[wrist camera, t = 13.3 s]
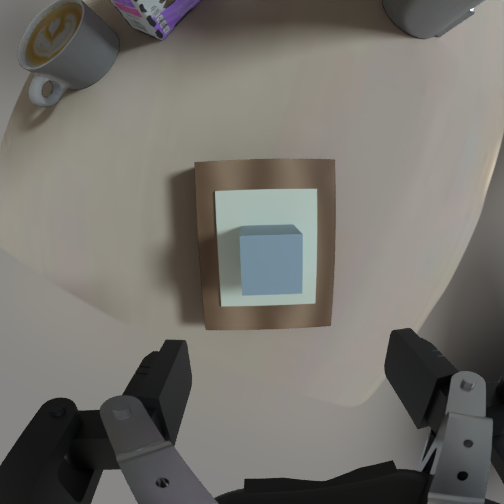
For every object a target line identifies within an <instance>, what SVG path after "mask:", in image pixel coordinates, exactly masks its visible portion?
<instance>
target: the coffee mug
mask: <svg viewBox="0 0 504 504" xmlns="http://www.w3.org/2000/svg"><path fill="white" fill-rule="evenodd" d="M118 51H119V39H118V36H117V34H116V33H115V32H114V31H113V30H112V29H111V28H110V27H109V26H108V25H107V24H106V23H105V22H104V21H103V20H102V19H101V18H100V17H99V16H98V15H97V14H96V13H95V12H94V11H92V10H91V9H90V8H89V7H88V6H87V5H86V4H85V3H84V2H83V1H82V0H57V1H55V2H53V3H51V4H50V5H48V6H47V7H46V8H44V9H43V10H42V11H41V12H40V13H39V14H38V15H37V16H36V17H35V18H34V19H33V20H32V22H31V23H30V24H29V26H28V27H27V29H26V30H25V32H24V34H23V36H22V38H21V41H20V44H19V48H18V61H19V64H20V66H21V67H22V68H24V69H26V70H28V71H31V72H34V76H33V78H32V81H31V83H30V86H29V90H28V96H29V99H30V101H31V102H32V103H33V104H35V105H37V106H40V107H51V106H53V105H55V104H56V103H57V102H58V101H59V100H60V98H61V97H62V95H63V94H64V92H65V91H66V90H67V89H69V88H70V89H83V88H86V87H89V86H91V85H92V84H94V83H96V82H97V81H99V80H100V79H101V78H102V77H103V76H104V75H105V74H106V73H107V72H108V71H109V69H110V68H111V67H112V65H113V63H114V61H115V59H116V57H117V55H118ZM47 81H50V82H51V83H52V91H51V94H50V95H49V96H48V97H44V96H43V95H42V88H43V85H44V84H45V82H47Z"/></svg>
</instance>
